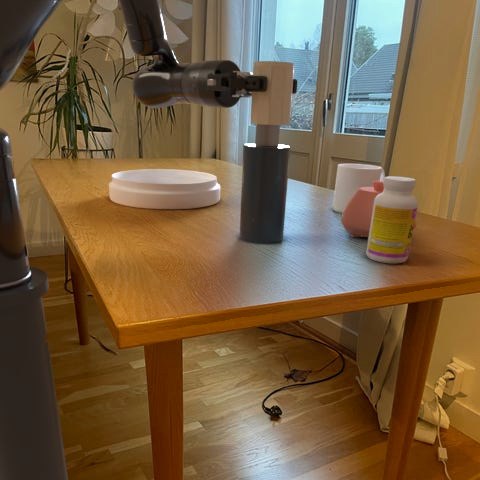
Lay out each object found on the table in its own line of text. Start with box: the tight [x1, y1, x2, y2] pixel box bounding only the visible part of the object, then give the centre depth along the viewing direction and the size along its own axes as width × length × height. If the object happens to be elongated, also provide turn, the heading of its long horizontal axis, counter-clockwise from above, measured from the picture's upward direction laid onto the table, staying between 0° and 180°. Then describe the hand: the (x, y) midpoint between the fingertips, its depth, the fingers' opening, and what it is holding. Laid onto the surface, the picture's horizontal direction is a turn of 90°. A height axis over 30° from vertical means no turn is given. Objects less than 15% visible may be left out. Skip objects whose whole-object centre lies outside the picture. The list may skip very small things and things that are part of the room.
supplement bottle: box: [365, 175, 419, 265], centre depth 76 cm, size 7×7×13 cm
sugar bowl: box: [340, 181, 418, 238], centre depth 90 cm, size 12×14×10 cm
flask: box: [239, 124, 291, 245], centre depth 83 cm, size 8×8×20 cm
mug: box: [332, 163, 386, 214], centre depth 112 cm, size 13×10×10 cm
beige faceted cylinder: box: [250, 60, 295, 126], centre depth 77 cm, size 6×7×9 cm
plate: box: [108, 168, 221, 210], centre depth 117 cm, size 27×27×6 cm
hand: (281, 85), depth 75 cm, fingers closed on beige faceted cylinder, 6 cm apart
